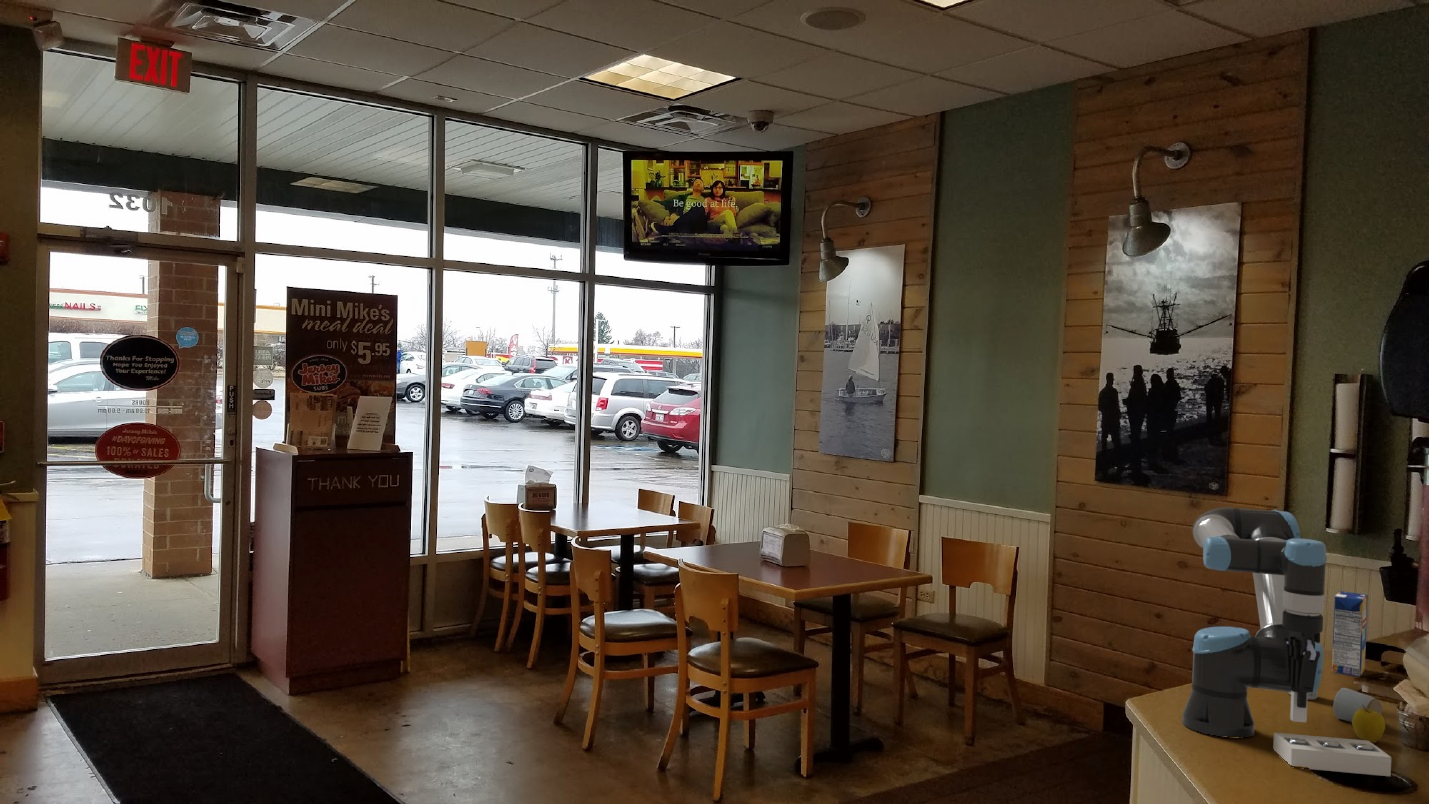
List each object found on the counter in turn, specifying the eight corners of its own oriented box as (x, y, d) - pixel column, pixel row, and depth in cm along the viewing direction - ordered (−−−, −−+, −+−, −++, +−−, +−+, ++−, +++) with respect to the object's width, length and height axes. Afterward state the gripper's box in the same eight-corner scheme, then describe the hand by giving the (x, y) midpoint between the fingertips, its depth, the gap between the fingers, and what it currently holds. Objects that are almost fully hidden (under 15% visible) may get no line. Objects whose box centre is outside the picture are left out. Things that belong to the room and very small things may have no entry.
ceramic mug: (1368, 730, 235) (1369, 698, 235) (1331, 720, 242) (1333, 688, 242) (1390, 725, 240) (1391, 693, 240) (1353, 714, 247) (1355, 684, 247)
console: (1291, 767, 209) (1291, 748, 209) (1273, 750, 219) (1273, 732, 219) (1390, 776, 206) (1391, 757, 206) (1367, 759, 216) (1368, 740, 216)
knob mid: (1324, 764, 211) (1325, 744, 211) (1317, 757, 214) (1318, 738, 214) (1343, 765, 210) (1343, 746, 210) (1335, 759, 214) (1336, 740, 214)
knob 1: (1291, 761, 212) (1292, 741, 212) (1284, 755, 216) (1285, 736, 216) (1309, 762, 211) (1310, 743, 211) (1302, 756, 215) (1303, 737, 215)
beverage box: (1331, 672, 286) (1334, 596, 286) (1337, 664, 295) (1340, 591, 294) (1359, 677, 282) (1362, 600, 282) (1364, 669, 290) (1367, 594, 290)
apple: (1348, 734, 232) (1349, 700, 231) (1380, 739, 229) (1382, 704, 229) (1354, 743, 226) (1355, 708, 226) (1387, 748, 223) (1389, 712, 223)
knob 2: (1358, 767, 210) (1358, 747, 210) (1350, 760, 213) (1351, 741, 213) (1376, 768, 209) (1377, 749, 209) (1368, 762, 213) (1369, 743, 213)
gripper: (1335, 620, 206) (1330, 732, 207) (1309, 606, 219) (1304, 712, 220) (1296, 617, 207) (1291, 729, 208) (1272, 604, 220) (1268, 709, 221)
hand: (1298, 720), depth 214 cm, fingers closed
